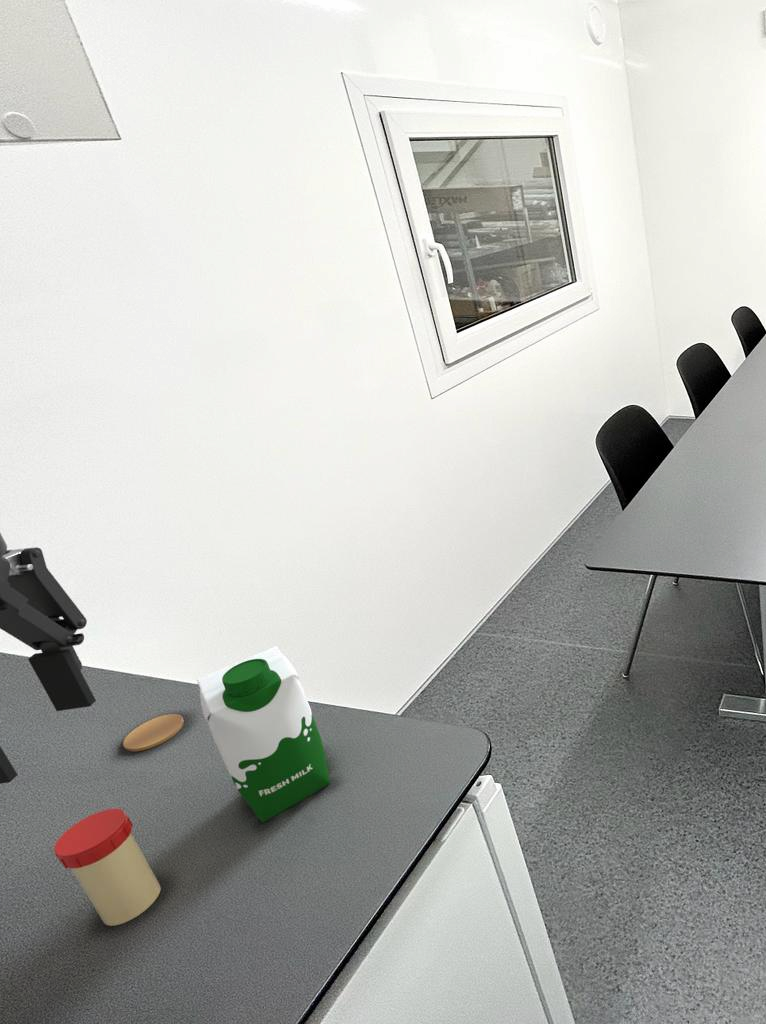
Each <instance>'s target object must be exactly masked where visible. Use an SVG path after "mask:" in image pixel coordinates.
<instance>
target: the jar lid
mask: <svg viewBox="0 0 766 1024" xmlns="http://www.w3.org/2000/svg"><path fill="white" fill-rule="evenodd" d="M133 827H134V825H133V822H132V821H131V819H130V818H129V816H128V815H127V814H126V812H125V811H124V809H121V808H107V809H103V810H101V811H98V812H95V813H93V814H91V815H88V816H86V817H85V818H83V819H81V820H79V821H78V822H76V823H75V824H74V825H72V826H71V827H70V828H68V829H67V830H65V832H64V833H63V834H62V835H61V836H60V837H59V838H58V839H57V841H56V843H55V844H54V848H53V851H54V855H55V857H56V858H57V860H58V861H59V863H61V865H62V866H63V867H64V869H70V868H81V867H84V866H87V865H90V864H92V863H94V862H96V861H99V860H100V859H102V858H104V857H106V856H107V855H109V854H110V853H112V852H113V851H114V850H116V849H117V848H118V847H119V846H120V845H121V844H123V843H124V841H125V840H126V839H127V838H128V836H129V835H130V833H132V830H133Z"/></svg>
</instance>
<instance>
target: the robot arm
mask: <svg viewBox="0 0 766 1024" xmlns="http://www.w3.org/2000/svg"><path fill="white" fill-rule="evenodd" d="M87 622H88V621H87V618H86V616H85V615H84V614H83V613H82V612H81V610H80V609H79V608H78V606H77V604H75V602H74V601H73V600H72V598H71V597H70V596H69V595H68V593H67V592H66V591H65V589H64V588H63V587H62V585H61V584H60V583H59V582H58V580H57V579H56V578H55V576H54V575H53V574H52V572H51V571H50V570H49V569H48V567H47V564H46V560H45V557H44V553H43V550H42V549H41V548H40V547H26V548H17V549H16V548H15V549H8V545H7V543H6V541H5V539H4V537H3V535H2V533H1V532H0V630H2V631H3V632H5V633H7V634H8V635H10V636H11V637H13V638H15V639H17V640H18V641H20V642H22V643H23V644H25V645H26V646H27V647H30V648H31V649H33V650H35V651H41V652H36V653H34V654H32V655H31V656H29V657H28V658H27V660H28V662H29V665H30V666H31V667H32V669H33V671H34V673H35V675H36V677H37V678H38V680H39V682H40V684H41V685H42V688H43V689H44V691H45V693H46V695H47V696H48V698H49V700H50V702H51V704H52V706H53V708H55V711H56V712H60V711H67V710H74V709H83V708H88V707H91V706H92V705H94V704H95V703H96V701H97V699H96V698H95V696H94V694H93V692H92V690H91V687H90V686H89V684H88V682H87V680H86V679H85V676H84V675H83V673H82V671H81V670H82V669H83V663H82V661H81V659H80V657H79V656H78V654H77V651H76V650H75V647H74V646H80V645H82V644H83V642H84V640H85V635H84V633H83V632H80V633H76V632H77V631H78V630H82V629H84V628H85V627H86V626H87ZM17 776H19V774H18V773H17V771H16V769H15V768H14V766H13V764H12V763H11V761H10V759H9V758H8V755H6V753H5V751H4V750H3V748H2V747H1V745H0V785H1V784H8V783H11V782H12V781H14V779H15V778H16V777H17Z"/></svg>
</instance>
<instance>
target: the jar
mask: <svg viewBox="0 0 766 1024" xmlns="http://www.w3.org/2000/svg"><path fill="white" fill-rule="evenodd" d="M69 870H70V871H71V873H72V874H73V876H74V878H75V879H76V881H77V882H78V884H79V885H80V887H81V889H82V890H83V892H84V894H85V895H86V897H87V898H88V900H89V902H90V903H91V905H92V907H93V908H94V910H95V911H96V913H97V915H98V916H99V918H100V919H101V921H102V923H103V924H104V925H106V926H109V927H113V926H119V925H123V924H125V923H127V922H129V921H131V920H133V919H135V918H137V917H138V916H140V915H141V914H142V913H144V912H146V910H148V909H149V908H150V907H151V906H152V905H153V904H154V903H155V901H156V900H157V898H158V897H159V895H160V893H161V889H162V887H161V884H160V882H159V880H158V878H157V877H156V874H155V873H154V871H153V869H152V867H151V866H150V863H149V862H148V860H147V858H146V856H145V854H144V853H143V851H142V849H141V847H140V846H139V844H138V842H137V840H136V838H135V836H134V835H133V833H132V832H131V833H130V835H129V836H128V838H127V839H126V840H125V841H124V843H123V844H121V845H120V846H119V847H118V848H117V849H116V850H114V851H113V852H112V853H110V854H109V855H107V856H106V857H104V858H102V859H100V860H99V861H96V862H94V863H92V864H90V865H87V866H84V867H81V868H69Z"/></svg>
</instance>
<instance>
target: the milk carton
mask: <svg viewBox="0 0 766 1024" xmlns="http://www.w3.org/2000/svg"><path fill="white" fill-rule="evenodd" d="M298 679H300V676H299V674H298V672H297V671H296V669H295V668H294V666H293V665H292V663H291V661H290V660H289V659H288V658H287V657H286V656H285V655H284V654H283V653H282V652H281V651H280V649H279V647H278V646H277V645H275V646H273V647H270V648H267V649H266V650H263V651H261V652H259V653H256V654H254V655H252V656H249V657H247V658H244V659H243V660H240V661H237V662H235V663H233V664H230V665H228V666H226V667H224V668H221V669H219V670H217V671H214V672H212V673H209V674H207V675H205V676H203V677H200V678H198V679H196V682H197V685H198V689H199V697H200V698H199V699H200V706H201V710H202V715H203V717H204V720H205V722H206V723H207V725H208V727H209V730H210V733H211V737H212V738H213V740H214V742H215V744H216V747H217V750H218V751H219V753H220V756H221V758H222V761H223V763H224V765H225V767H226V769H227V772H228V774H229V776H230V778H231V780H232V782H233V784H234V786H235V788H236V789H237V792H238V793H239V794H240V795H241V796H242V798H243V799H244V801H245V802H246V803H247V804H248V806H249V808H251V809H252V810H253V813H255V815H256V816H257V817H258V819H259V821H261V823H262V824H264V823H265V822H267V821H269V820H270V819H272V818H274V817H275V816H277V815H279V814H280V813H282V812H284V811H285V810H287V809H289V808H291V807H292V806H294V805H296V804H297V803H300V802H301V801H303V800H305V799H306V798H308V797H310V796H311V795H313V794H315V793H317V792H318V791H321V790H322V789H323V788H325V787H328V785H330V784H331V780H330V775H329V774H330V773H329V769H328V768H329V767H328V763H327V762H328V761H327V758H326V752H325V747H324V743H323V740H322V736H321V734H320V730H319V729H318V726H317V725H318V724H317V722H316V720H315V717H314V714H313V712H312V709H311V707H310V704H309V701H308V698H307V695H306V692H305V690H304V688H303V686H302V685H301V682H300V680H298Z"/></svg>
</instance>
